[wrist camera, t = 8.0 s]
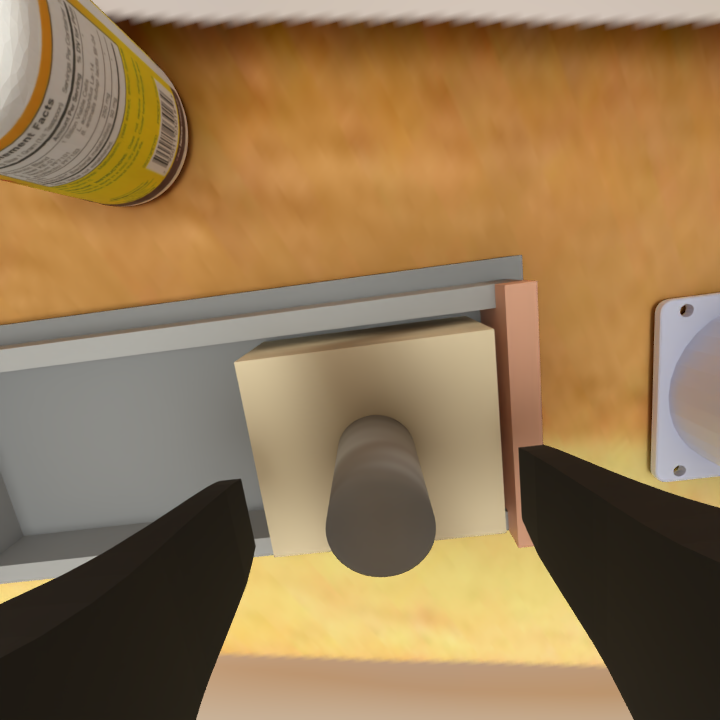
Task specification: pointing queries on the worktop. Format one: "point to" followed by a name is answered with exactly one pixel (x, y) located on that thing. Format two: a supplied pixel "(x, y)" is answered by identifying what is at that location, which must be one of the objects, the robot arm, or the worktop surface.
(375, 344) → the beige knobbed block
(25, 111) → the supplement bottle
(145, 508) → the tray
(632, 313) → the worktop surface
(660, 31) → the worktop surface
